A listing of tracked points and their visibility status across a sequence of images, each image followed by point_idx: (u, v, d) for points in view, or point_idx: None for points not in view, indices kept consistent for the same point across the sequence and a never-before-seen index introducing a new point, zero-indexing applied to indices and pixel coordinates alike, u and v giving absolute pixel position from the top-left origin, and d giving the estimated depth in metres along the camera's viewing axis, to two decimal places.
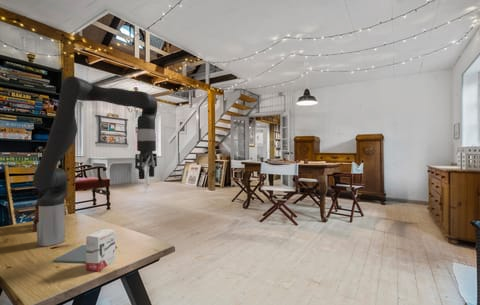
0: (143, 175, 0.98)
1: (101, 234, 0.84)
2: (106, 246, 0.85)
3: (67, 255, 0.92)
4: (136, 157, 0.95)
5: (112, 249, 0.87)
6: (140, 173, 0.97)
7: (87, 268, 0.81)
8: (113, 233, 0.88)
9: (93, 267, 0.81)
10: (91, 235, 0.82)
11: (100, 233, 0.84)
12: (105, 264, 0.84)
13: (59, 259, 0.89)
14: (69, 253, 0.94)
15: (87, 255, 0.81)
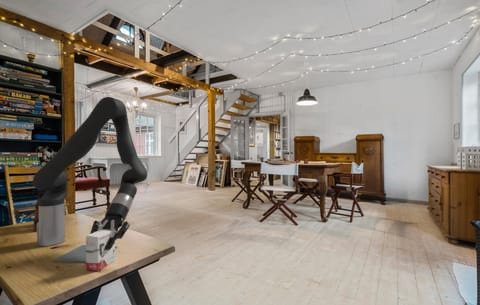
0: None
1: (101, 234, 0.84)
2: None
3: (67, 255, 0.92)
4: (126, 225, 0.89)
5: (112, 249, 0.87)
6: (112, 242, 0.86)
7: (87, 268, 0.81)
8: None
9: (93, 266, 0.81)
10: (91, 235, 0.82)
11: (100, 233, 0.84)
12: (105, 264, 0.84)
13: (59, 259, 0.89)
14: (69, 253, 0.94)
15: (87, 255, 0.81)
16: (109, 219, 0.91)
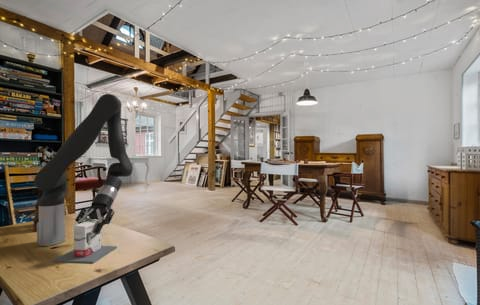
0: None
1: (88, 224, 0.93)
2: (93, 235, 0.94)
3: (67, 255, 0.92)
4: (111, 212, 0.99)
5: (98, 238, 0.97)
6: (100, 227, 0.95)
7: (75, 254, 0.91)
8: None
9: (80, 253, 0.90)
10: (78, 225, 0.92)
11: (87, 223, 0.94)
12: (91, 251, 0.94)
13: (59, 259, 0.89)
14: (69, 253, 0.94)
15: (75, 243, 0.91)
16: (95, 208, 1.00)
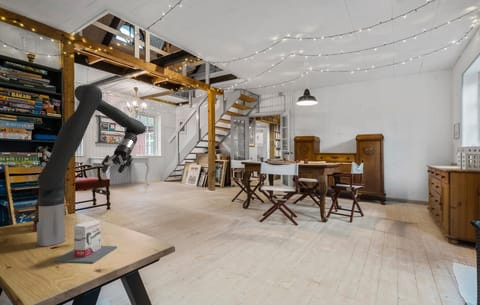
0: None
1: (88, 224, 0.93)
2: (93, 235, 0.94)
3: (67, 255, 0.92)
4: (130, 157, 1.22)
5: (98, 238, 0.97)
6: (123, 168, 1.18)
7: (75, 254, 0.91)
8: (99, 223, 0.98)
9: (80, 253, 0.90)
10: (78, 225, 0.92)
11: (87, 223, 0.94)
12: (91, 251, 0.94)
13: (59, 259, 0.89)
14: (69, 253, 0.94)
15: (75, 243, 0.91)
16: (117, 155, 1.24)
